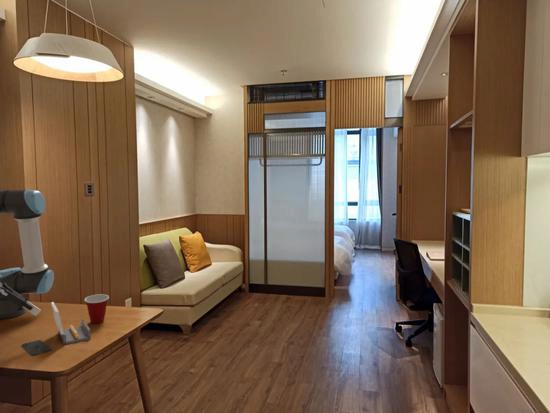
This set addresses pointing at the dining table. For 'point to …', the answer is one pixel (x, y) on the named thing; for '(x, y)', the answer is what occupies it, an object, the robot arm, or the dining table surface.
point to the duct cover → (57, 318)
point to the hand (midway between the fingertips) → (38, 312)
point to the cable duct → (76, 333)
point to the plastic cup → (96, 307)
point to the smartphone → (36, 347)
